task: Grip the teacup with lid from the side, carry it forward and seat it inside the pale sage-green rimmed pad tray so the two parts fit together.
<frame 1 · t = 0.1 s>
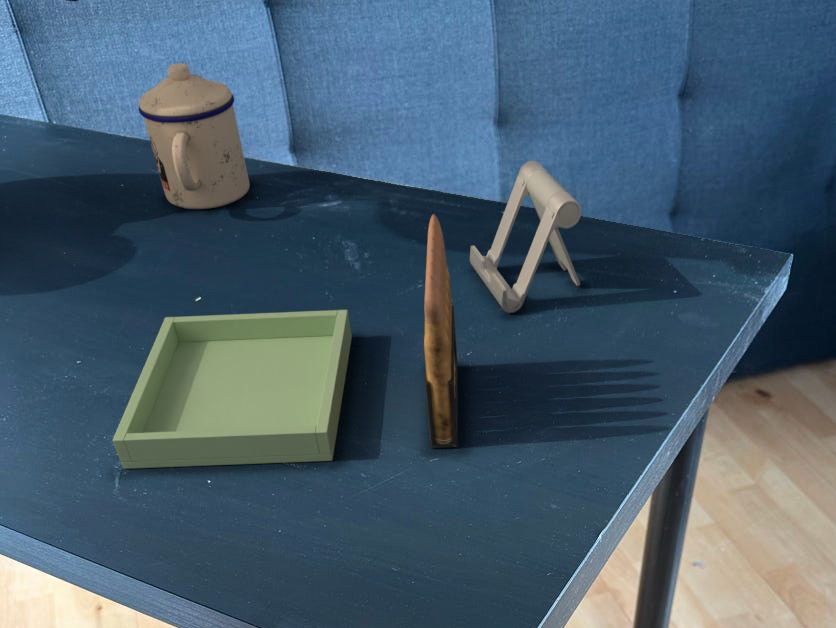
tablet stand: (528, 286, 81), on the table
pad tray: (246, 398, 70), on the table
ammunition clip: (445, 407, 69), on the table
teacup with lid: (206, 200, 96), on the table
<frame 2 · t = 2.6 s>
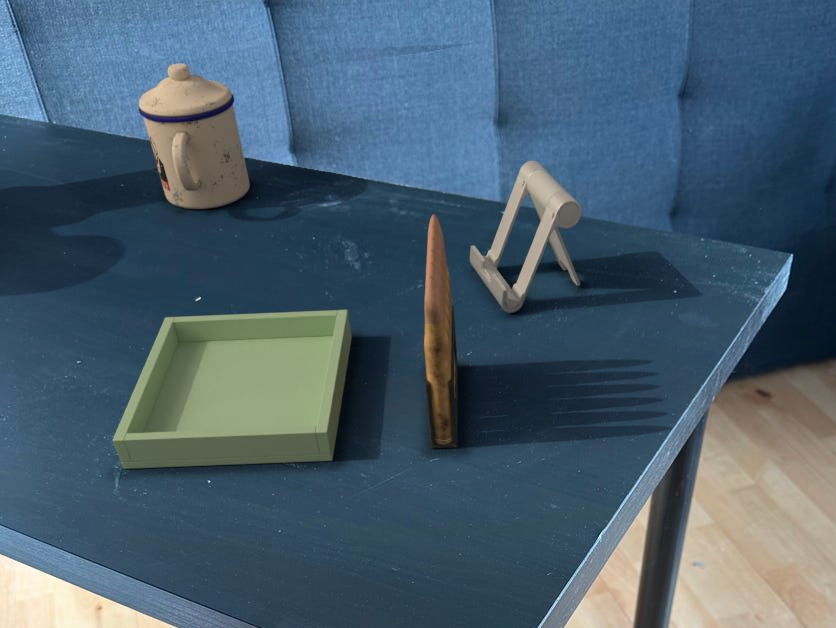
nothing on the table moved.
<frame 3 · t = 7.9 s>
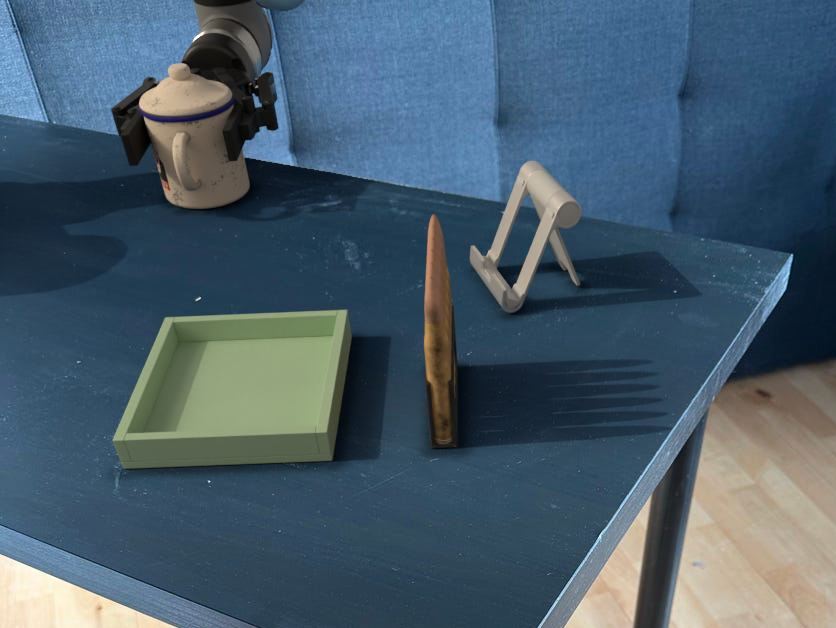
hand: (179, 148, 88), 7 cm above the table, tool horizontal, fingers closed on teacup with lid, 9 cm apart
teacup with lid: (206, 200, 96), on the table, touching gripper
everything else where it was.
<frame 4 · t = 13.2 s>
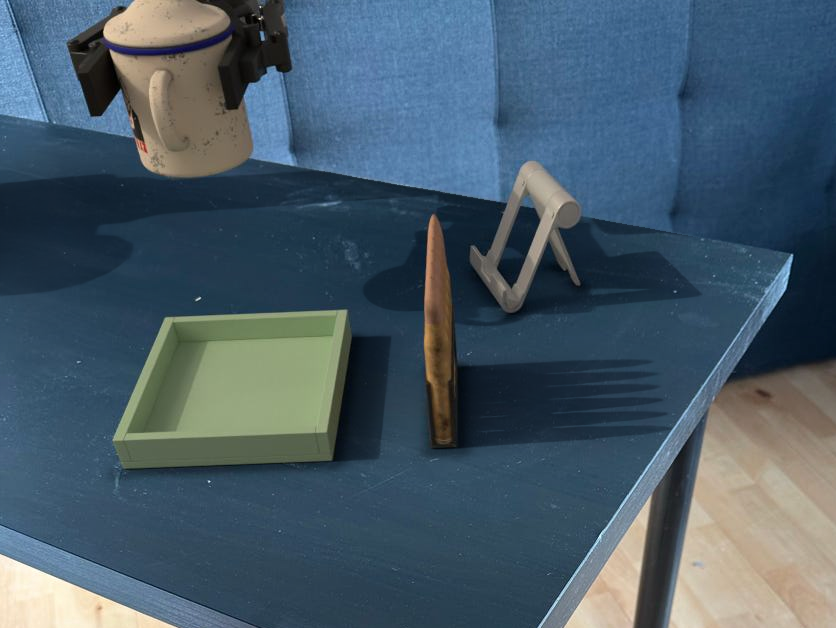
hand: (158, 91, 64), 18 cm above the table, tool horizontal, fingers closed on teacup with lid, 9 cm apart
teacup with lid: (196, 167, 72), point 11 cm above the table, touching gripper
everything else where it was.
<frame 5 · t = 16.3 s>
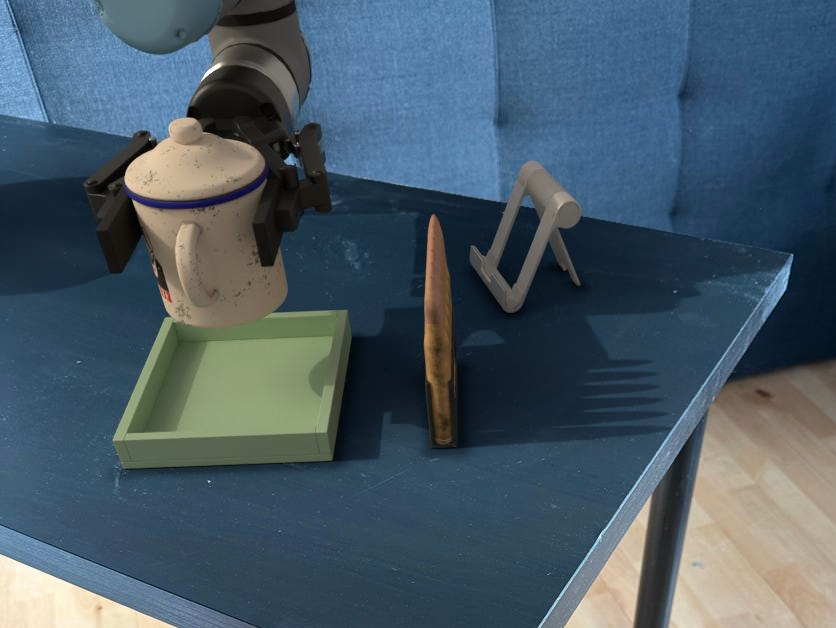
hand: (185, 248, 57), 14 cm above the table, tool horizontal, fingers closed on teacup with lid, 9 cm apart
teacup with lid: (225, 313, 65), point 7 cm above the table, touching gripper
everything else where it was.
when the fingers open (7 cm above the table, at t = 18.6 s): teacup with lid stays where it is, resting on pad tray.
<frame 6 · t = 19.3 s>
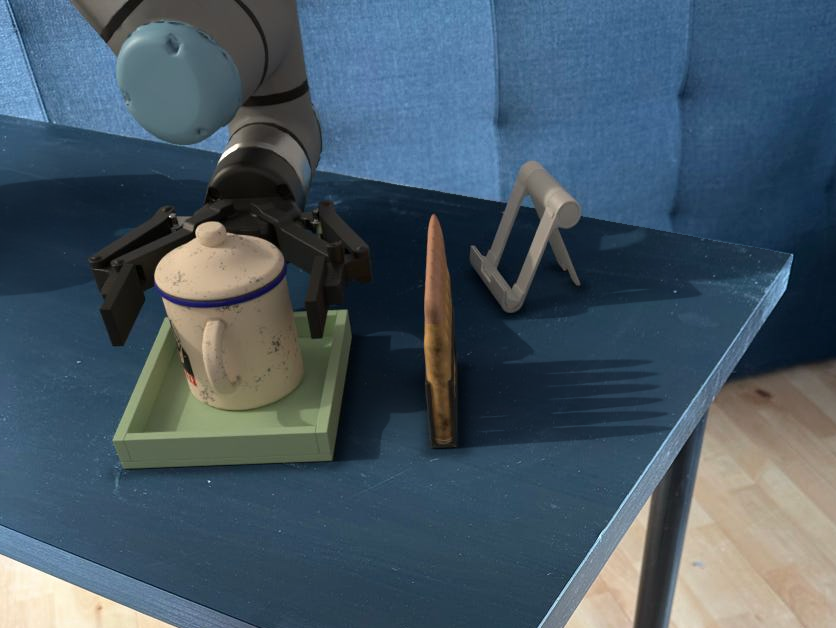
hand: (212, 324, 62), 8 cm above the table, tool horizontal, fingers open, 13 cm apart
teacup with lid: (245, 393, 70), resting on pad tray
everything else where it was.
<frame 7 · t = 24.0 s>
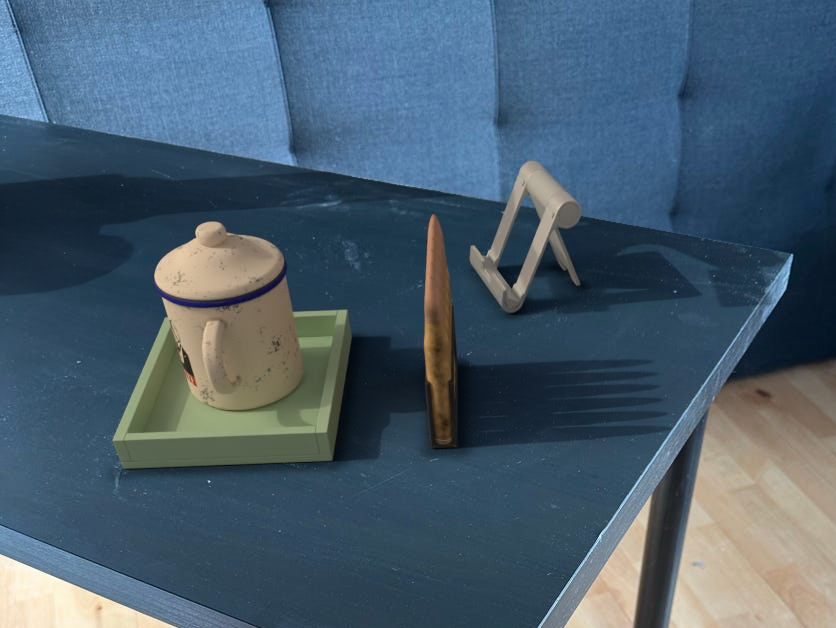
nothing on the table moved.
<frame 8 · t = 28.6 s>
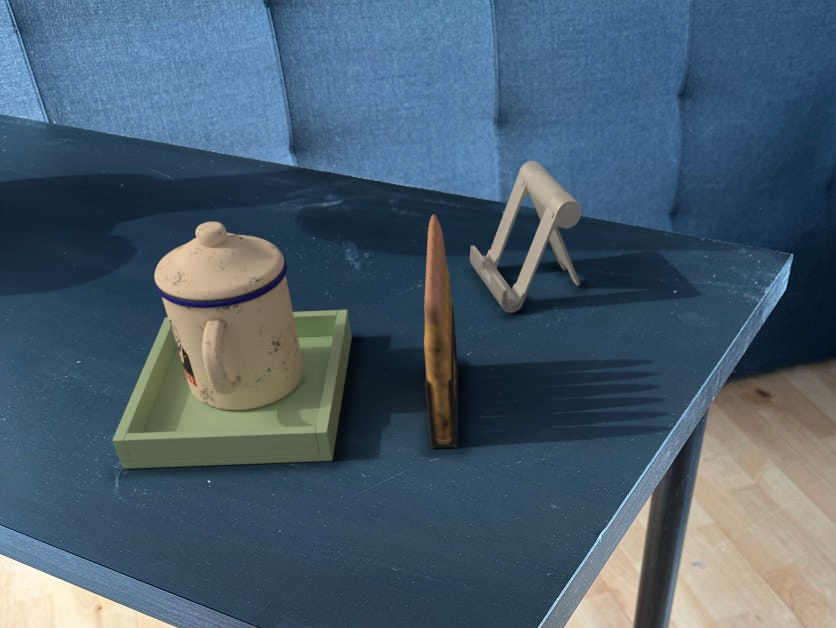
nothing on the table moved.
at the end: teacup with lid 0.0 cm off-centre in the pad tray, point 0.4 cm above the pad tray's base; teacup with lid tilted 0°; the gripper is holding nothing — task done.
